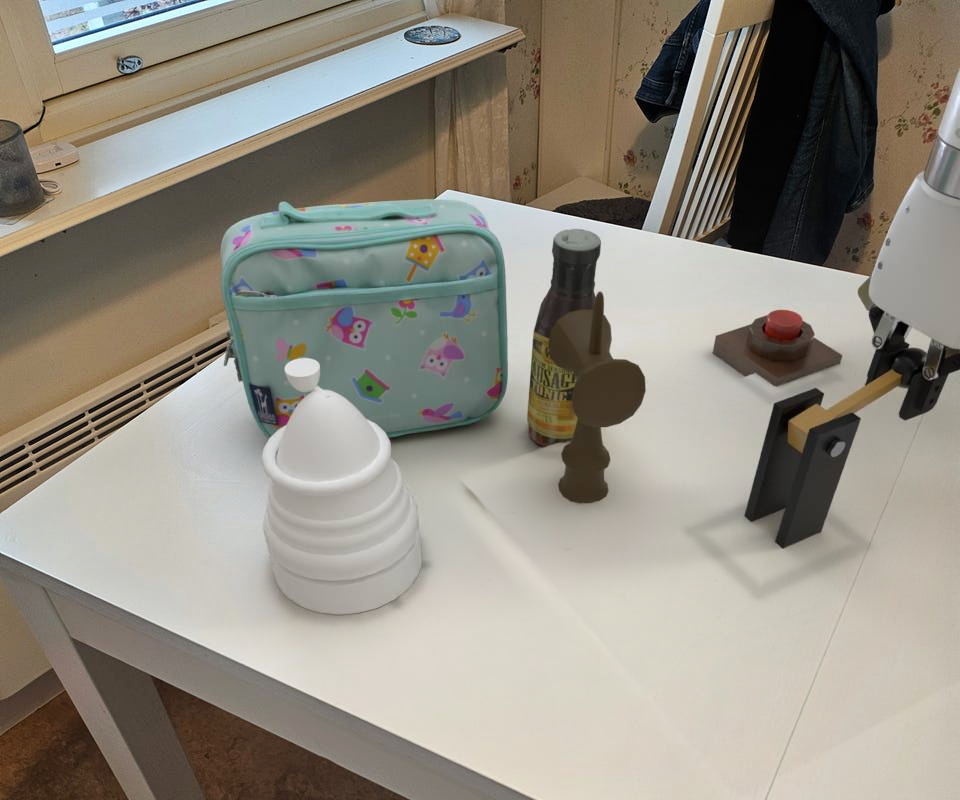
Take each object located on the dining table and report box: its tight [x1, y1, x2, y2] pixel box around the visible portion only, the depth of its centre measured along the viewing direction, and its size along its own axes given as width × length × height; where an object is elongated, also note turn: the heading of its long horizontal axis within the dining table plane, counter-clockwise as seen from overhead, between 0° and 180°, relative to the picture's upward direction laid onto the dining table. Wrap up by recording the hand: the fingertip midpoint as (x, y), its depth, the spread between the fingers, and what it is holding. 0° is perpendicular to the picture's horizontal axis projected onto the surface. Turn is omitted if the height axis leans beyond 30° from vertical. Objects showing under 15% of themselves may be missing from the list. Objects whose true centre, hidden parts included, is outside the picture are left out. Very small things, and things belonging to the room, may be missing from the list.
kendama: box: [548, 291, 647, 505], centre depth 76 cm, size 6×10×20 cm, turn 11°
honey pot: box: [261, 358, 423, 616], centre depth 71 cm, size 13×13×18 cm
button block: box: [712, 314, 843, 387], centre depth 97 cm, size 9×10×4 cm
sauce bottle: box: [526, 228, 602, 448], centre depth 83 cm, size 7×6×20 cm
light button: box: [764, 309, 804, 340], centre depth 95 cm, size 4×4×2 cm
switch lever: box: [788, 347, 927, 453], centre depth 72 cm, size 13×3×3 cm, turn 119°
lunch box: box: [220, 198, 509, 439], centre depth 85 cm, size 27×10×21 cm, turn 102°
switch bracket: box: [744, 387, 862, 549], centre depth 75 cm, size 12×9×13 cm
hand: (896, 400), depth 75 cm, fingers closed on switch lever, 3 cm apart
